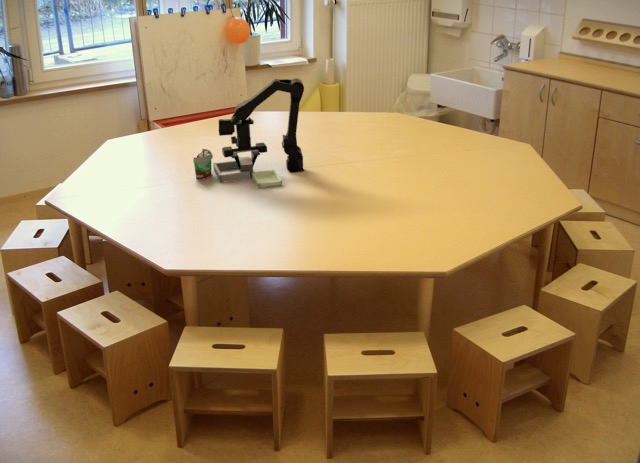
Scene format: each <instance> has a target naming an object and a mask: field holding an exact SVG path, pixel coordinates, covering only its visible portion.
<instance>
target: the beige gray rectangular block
mask: <svg viewBox="0 0 640 463" xmlns="http://www.w3.org/2000/svg"><path fill="white" fill-rule="evenodd" d="M239 161H240V170H239V171H240V172H248V171H249V172H250V175H251V172H254V166H253V163H252V160H251V156H250V155H246V156H239Z"/></svg>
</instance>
